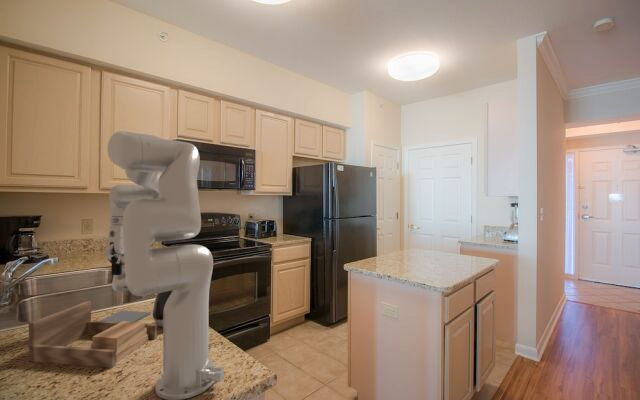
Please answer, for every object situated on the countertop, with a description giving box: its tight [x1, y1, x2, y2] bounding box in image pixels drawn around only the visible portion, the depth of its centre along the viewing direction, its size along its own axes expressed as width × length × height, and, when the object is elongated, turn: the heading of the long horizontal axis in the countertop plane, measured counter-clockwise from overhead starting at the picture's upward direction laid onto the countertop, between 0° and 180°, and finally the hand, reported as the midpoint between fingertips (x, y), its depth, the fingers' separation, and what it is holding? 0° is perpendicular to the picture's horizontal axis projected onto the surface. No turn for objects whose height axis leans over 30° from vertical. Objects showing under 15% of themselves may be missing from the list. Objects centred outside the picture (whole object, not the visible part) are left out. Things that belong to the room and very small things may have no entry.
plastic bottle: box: [111, 252, 129, 292], centre depth 107 cm, size 6×7×20 cm
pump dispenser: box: [152, 290, 173, 328], centre depth 103 cm, size 10×10×15 cm
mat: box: [99, 310, 152, 322], centre depth 107 cm, size 12×12×1 cm
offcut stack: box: [90, 321, 149, 363], centre depth 86 cm, size 8×12×6 cm, turn 172°
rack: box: [28, 300, 158, 369], centre depth 86 cm, size 24×17×10 cm
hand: (123, 272), depth 107 cm, fingers closed on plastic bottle, 5 cm apart
